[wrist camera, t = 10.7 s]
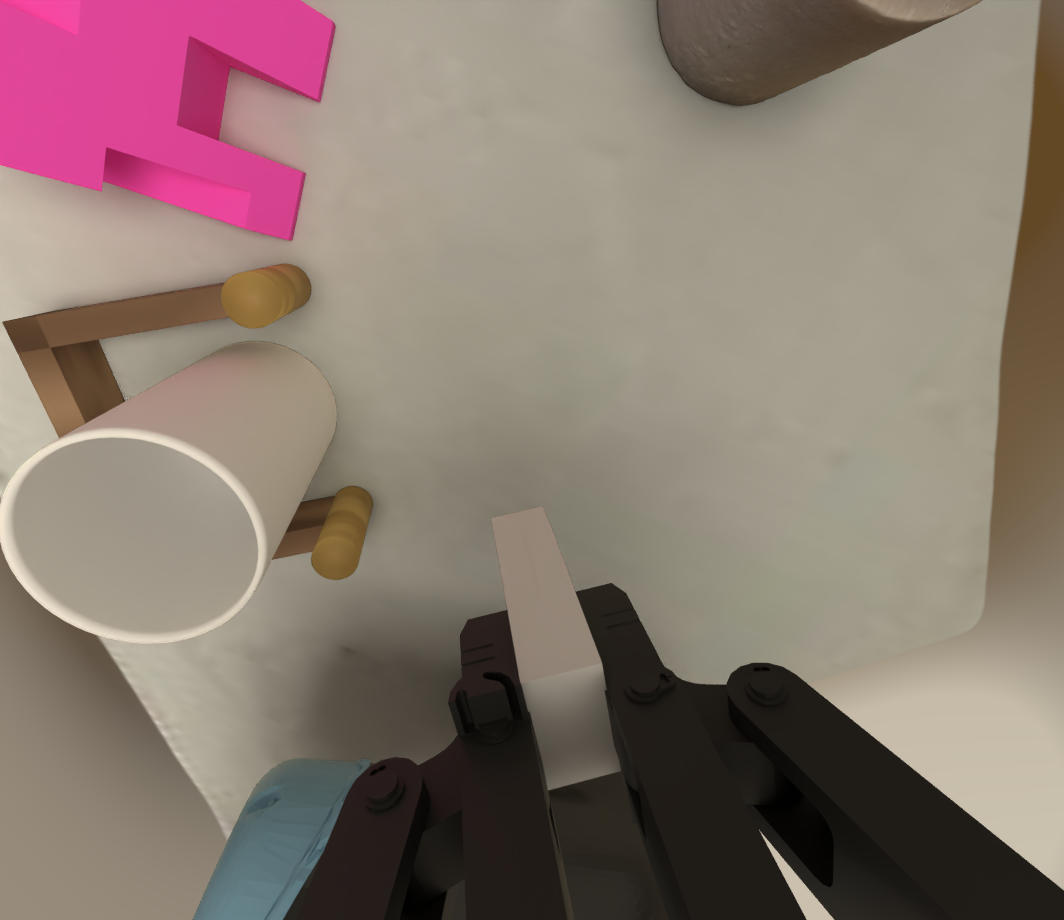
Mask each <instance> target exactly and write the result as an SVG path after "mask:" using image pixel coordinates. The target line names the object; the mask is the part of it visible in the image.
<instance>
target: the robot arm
mask: <svg viewBox="0 0 1064 920" xmlns="http://www.w3.org/2000/svg"><path fill="white" fill-rule="evenodd" d="M491 520H492V525H493V531H494V537H495V542H496V548H497V554H498V559H499V565H500V571H501V576H502V582H503V588H504V593H505V599H506V605H507V610H505V611H501V612H497V613H493V614H489V615H485V616H481V617H477V618H473V619H468V621H467V623H466V625H465V627H464V629H463V631H462V633H461V635H460V646H461V665H462V679H461V680H459V681H458V682H457V684H456V685H455V687H454V688H453V689H452V691H451V693H450V697H449V702H448V704H449V707H450V710H451V713H452V716H453V720H454V723H455V726H456V729H457V732H458V735H457V737H456V738H455V740H454V741H453V742H452V743H451V744H450V745H449V746H448V747H447V748H446V749H445V750H444V751H442V752H441V753H439V754H438V755H436V756H435V757H433V758H431V759H429V760H428V761H426V762H424V763H422V764H420V765H419V766H418V765H417V764H415V763H414V762H412V761H411V760H409V759H406V758H398V757H395V758H390V759H386V760H382V761H380V762H378V763H376V764H372V763H371V760H369V759H363V758H362V759H360V760H358V761H357V762H348V761H333V760H318V759H303V758H301V759H292V760H288V761H285V762H283V763H281V764H279V765H277V766H276V767H274V768H272V769H271V770H270V771H269V772H268V773H267V774H265V775H264V777H263V778H262V779H261V780H260V781H259V782H258V784H257V785H256V787H255V788H254V790H253V792H252V793H251V795H250V797H249V798H248V800H247V802H246V804H245V806H244V808H243V810H242V812H241V814H240V816H239V818H238V820H237V822H236V824H235V827H234V829H233V831H232V833H231V835H230V837H229V839H228V841H227V844H226V846H225V848H224V851H223V852H222V854H221V857H220V859H219V861H218V863H217V865H216V868H215V870H214V872H213V874H212V877H211V879H210V881H209V883H208V886H207V888H206V890H205V892H204V895H203V897H202V899H201V901H200V904H199V906H198V908H197V911H196V913H195V915H194V917H193V920H806V918H805V916H804V914H803V912H802V910H801V908H800V907H799V904H798V903H797V901H796V899H795V897H794V895H793V893H792V891H791V890H790V888H789V886H788V884H787V882H786V880H785V878H784V876H783V874H782V872H781V871H780V869H779V867H778V865H777V863H776V861H775V859H774V857H773V856H772V854H771V852H770V850H769V848H768V846H767V845H766V842H765V840H764V839H763V837H762V835H761V833H760V831H761V832H762V834H763V835H764V836H765V837H766V838H767V840H768V841H769V842H770V843H771V844H772V846H773V847H774V848H775V849H776V850H777V851H778V853H779V854H780V855H781V856H782V858H783V859H784V860H785V861H786V862H787V864H788V865H789V866H790V867H791V868H792V869H793V871H794V872H795V873H796V874H797V875H798V877H799V878H800V879H801V880H802V881H803V883H804V884H805V885H806V886H807V887H808V889H809V890H810V891H811V892H812V893H813V895H814V896H815V897H816V898H817V899H818V901H819V902H820V903H821V904H822V905H823V907H824V908H825V909H826V910H827V911H828V913H829V914H830V915H831V916H832V917H833V918H834V920H1064V890H1062V889H1061V888H1060V887H1059V886H1058V885H1056V884H1055V883H1054V882H1053V881H1051V880H1050V879H1049V878H1047V877H1046V876H1045V875H1044V874H1043V873H1041V872H1040V871H1039V870H1038V869H1036V868H1035V867H1034V866H1033V865H1031V864H1030V863H1029V862H1028V861H1027V860H1025V859H1024V858H1023V857H1022V856H1020V855H1019V854H1018V853H1016V852H1015V851H1014V850H1013V849H1012V848H1010V847H1009V846H1008V845H1007V844H1005V843H1004V842H1003V841H1002V840H1000V839H999V838H998V837H996V836H995V835H994V834H993V833H992V832H991V831H989V830H988V829H987V828H986V827H984V826H983V825H982V824H981V823H979V822H978V821H977V820H976V819H974V818H973V817H972V816H970V815H969V814H968V813H967V812H965V811H964V810H963V809H962V808H961V807H959V806H958V805H957V804H956V803H954V802H953V801H952V800H951V799H950V798H948V797H947V796H946V795H944V794H943V793H942V792H941V791H940V790H938V789H937V788H935V786H933V785H932V784H931V783H930V782H928V781H927V780H926V779H925V778H924V777H922V776H921V775H920V774H919V773H917V772H916V771H915V770H913V769H912V768H911V767H910V766H909V765H907V764H906V763H905V762H904V761H902V760H901V759H900V758H899V757H897V756H896V755H895V754H893V753H892V752H891V751H890V750H889V749H888V748H886V747H885V746H884V745H883V744H881V743H880V742H879V741H877V740H876V739H875V738H874V737H873V736H871V735H870V734H869V733H868V732H866V731H865V730H864V729H863V728H861V727H860V726H859V725H858V724H856V723H855V722H854V721H853V720H852V719H850V718H849V717H848V716H847V715H845V714H844V713H843V712H842V711H840V710H839V709H838V708H837V707H835V706H834V705H833V704H832V703H830V702H829V701H828V700H827V699H825V698H824V697H823V696H822V695H820V694H819V693H818V692H816V690H814V689H813V688H812V687H811V686H809V685H808V684H807V683H806V682H804V681H803V680H802V679H801V678H799V677H798V676H797V675H796V674H794V673H792V672H791V671H789V670H787V669H785V668H784V667H781V666H778V665H774V664H770V663H751V664H748V665H744V666H741V667H739V668H738V669H737V670H735V671H734V672H733V673H731V675H730V677H729V679H728V681H727V685H707V684H695V683H691V682H687V681H684V680H682V679H680V678H678V677H677V676H676V675H675V674H674V673H673V672H672V671H671V670H669V669H667V668H665V666H664V665H663V664H662V662H661V660H660V658H659V656H658V654H657V652H656V650H655V648H654V646H653V644H652V643H651V641H650V639H649V637H648V635H647V633H646V631H645V629H644V627H643V625H642V623H641V621H640V620H639V617H638V615H637V613H636V611H635V610H634V608H633V606H632V604H631V602H630V600H629V598H628V596H627V594H626V593H625V592H624V591H622V590H621V589H619V588H618V587H616V586H615V585H614V584H612V583H610V584H606V585H602V586H597V587H593V588H589V589H585V590H581V591H577V592H575V590H574V587H573V584H572V582H571V579H570V576H569V574H568V571H567V568H566V566H565V563H564V560H563V558H562V555H561V552H560V550H559V547H558V544H557V542H556V539H555V536H554V534H553V531H552V528H551V526H550V523H549V520H548V518H547V515H546V512H545V510H544V507H543V506H542V507H537V508H533V509H529V510H525V511H520V512H516V513H512V514H507V515H503V516H499V517H495V518H491ZM759 830H760V831H759Z"/></svg>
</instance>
